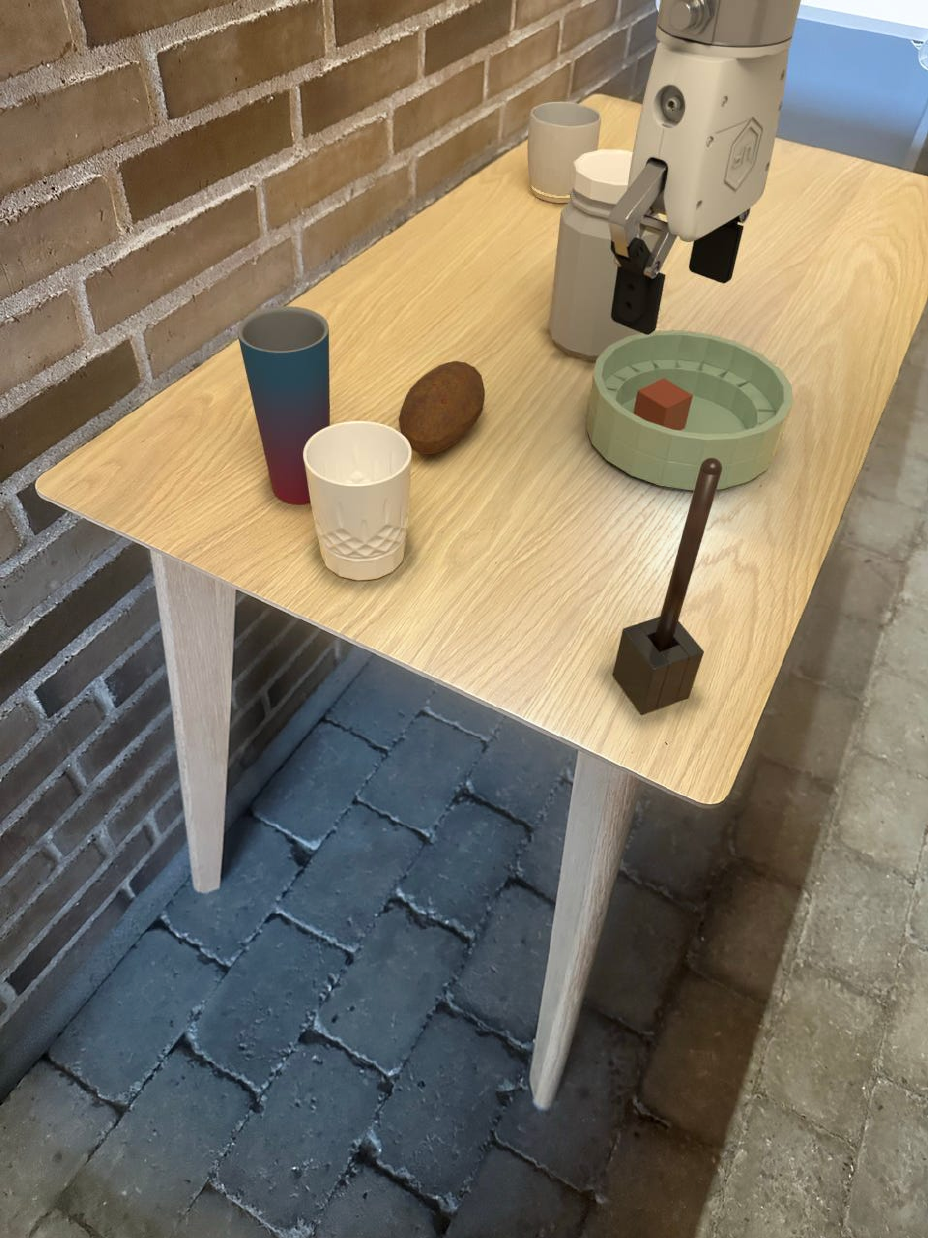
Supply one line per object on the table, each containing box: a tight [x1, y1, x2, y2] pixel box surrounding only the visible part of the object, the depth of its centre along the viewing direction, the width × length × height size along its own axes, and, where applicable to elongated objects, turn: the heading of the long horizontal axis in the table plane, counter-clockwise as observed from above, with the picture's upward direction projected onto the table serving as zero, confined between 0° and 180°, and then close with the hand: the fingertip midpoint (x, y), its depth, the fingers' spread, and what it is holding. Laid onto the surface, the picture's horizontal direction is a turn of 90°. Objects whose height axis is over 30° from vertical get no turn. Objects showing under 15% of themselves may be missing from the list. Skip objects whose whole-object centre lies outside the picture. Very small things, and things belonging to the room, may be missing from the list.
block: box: [633, 378, 693, 431], centre depth 87 cm, size 4×4×4 cm
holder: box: [612, 615, 705, 716], centre depth 65 cm, size 4×4×5 cm
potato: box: [398, 360, 486, 455], centre depth 84 cm, size 7×12×7 cm, turn 159°
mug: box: [526, 101, 602, 204], centre depth 123 cm, size 13×9×10 cm
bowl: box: [585, 329, 794, 492], centre depth 86 cm, size 18×18×6 cm
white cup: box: [303, 420, 413, 582], centre depth 72 cm, size 8×8×10 cm
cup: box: [236, 305, 331, 506], centre depth 76 cm, size 7×7×15 cm
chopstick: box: [653, 458, 722, 652], centre depth 60 cm, size 1×1×20 cm
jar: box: [548, 148, 661, 362], centre depth 93 cm, size 10×10×18 cm
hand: (672, 300), depth 64 cm, fingers open, 9 cm apart
